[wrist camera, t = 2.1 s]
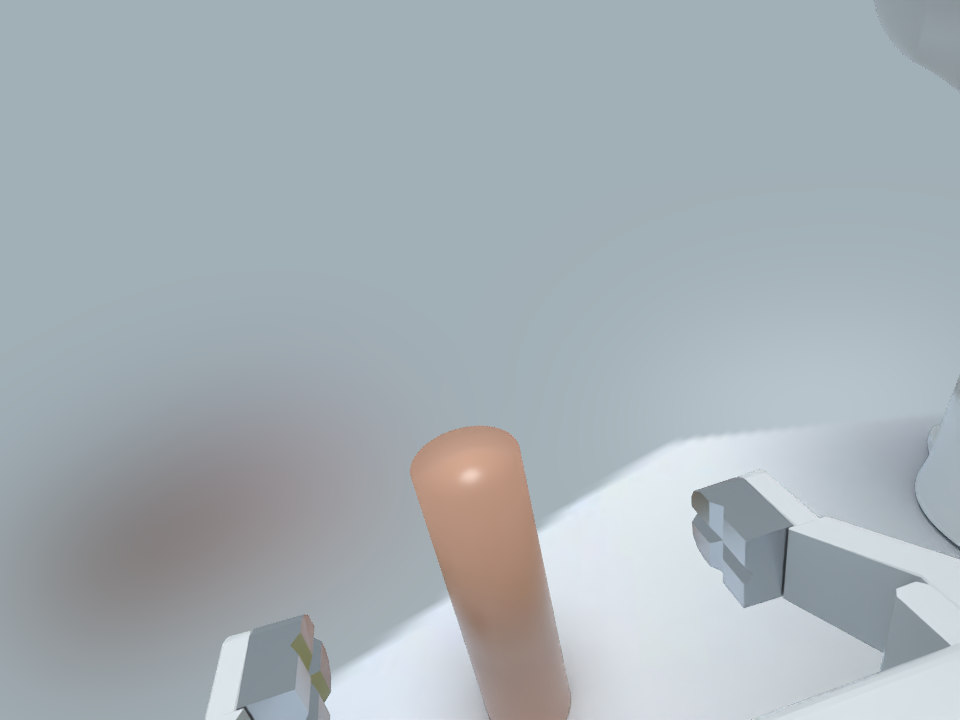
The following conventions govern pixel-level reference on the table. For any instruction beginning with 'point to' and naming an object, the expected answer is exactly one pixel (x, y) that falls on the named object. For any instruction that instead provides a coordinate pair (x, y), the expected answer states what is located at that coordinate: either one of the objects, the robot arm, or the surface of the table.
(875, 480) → the table surface
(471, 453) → the canister
